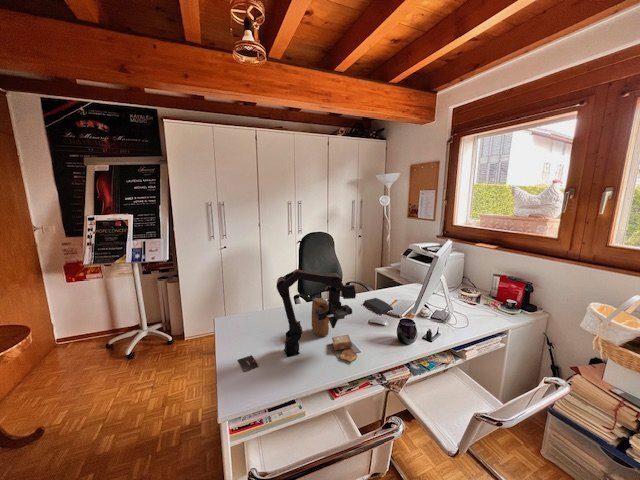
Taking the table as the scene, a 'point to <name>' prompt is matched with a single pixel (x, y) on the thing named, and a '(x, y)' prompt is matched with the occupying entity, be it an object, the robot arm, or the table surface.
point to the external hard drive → (377, 306)
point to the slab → (341, 342)
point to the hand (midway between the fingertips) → (333, 327)
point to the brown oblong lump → (320, 325)
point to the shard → (348, 354)
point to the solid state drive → (248, 363)
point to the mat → (339, 352)
